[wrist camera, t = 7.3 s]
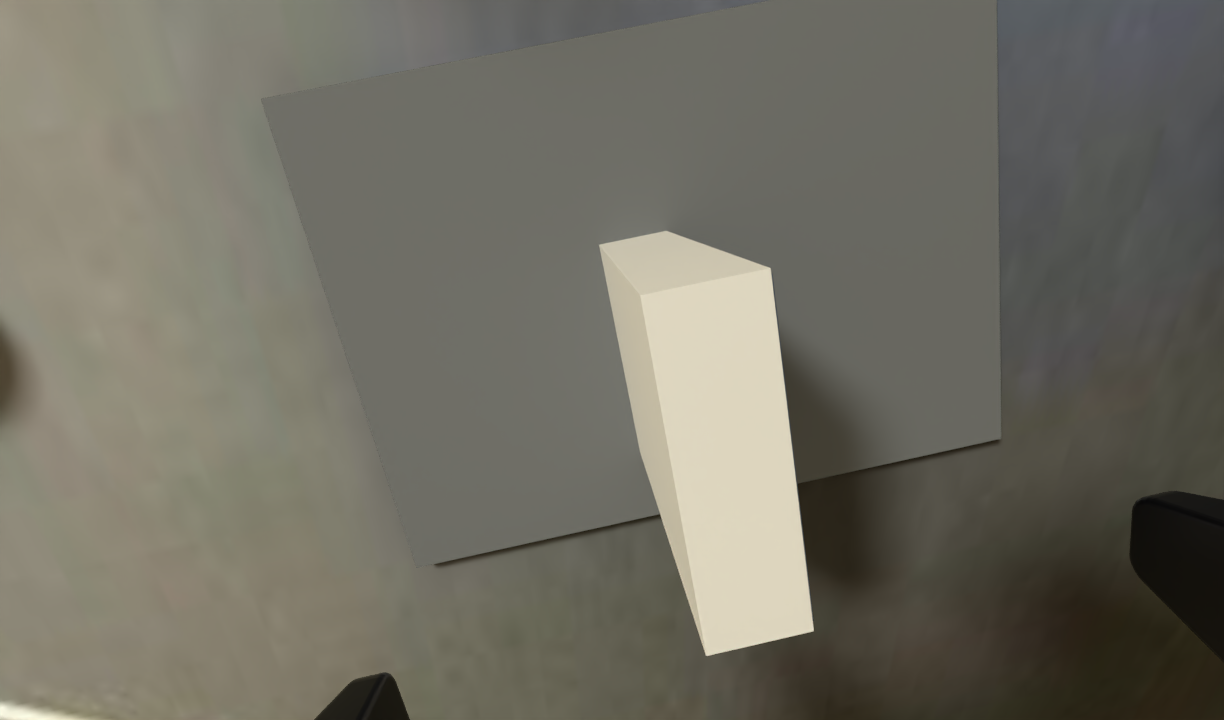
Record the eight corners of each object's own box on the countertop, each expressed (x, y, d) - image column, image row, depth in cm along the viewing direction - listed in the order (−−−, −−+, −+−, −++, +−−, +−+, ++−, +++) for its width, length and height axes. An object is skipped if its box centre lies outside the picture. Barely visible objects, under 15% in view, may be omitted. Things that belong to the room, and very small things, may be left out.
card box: (702, 438, 18) (816, 630, 10) (640, 451, 17) (706, 655, 10) (668, 230, 16) (773, 267, 8) (598, 244, 16) (640, 295, 8)
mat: (979, -35, 15) (996, -44, 15) (987, 431, 19) (1001, 438, 18) (272, 102, 15) (260, 98, 14) (420, 555, 18) (416, 567, 18)
